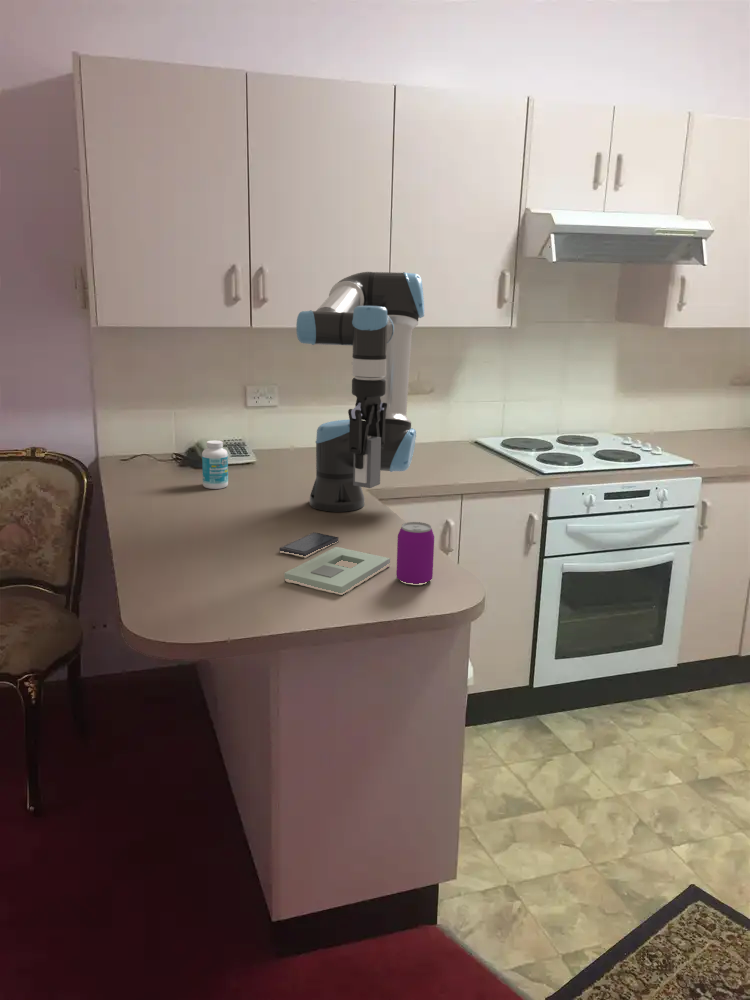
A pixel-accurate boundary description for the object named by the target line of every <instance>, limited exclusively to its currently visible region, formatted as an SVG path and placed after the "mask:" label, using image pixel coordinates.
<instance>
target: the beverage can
mask: <svg viewBox="0 0 750 1000" xmlns="http://www.w3.org/2000/svg"><path fill="white" fill-rule="evenodd" d="M396 546H397V549H396V551H397V552H396V575H395V576H396V579H397V580H398V579H399V580H401V581H403V582H406V583H413V584H419V583H425V582H428V581H430V580H431V579H432V580H433V575H434V553H435V534H434V531H433V528H432V525H430V524H429V523H427V522H421V521H409V522H405V523H403V524H401V527H400V530H399V531H398V534H397V545H396ZM399 580H398V581H399ZM432 580H431V581H432ZM431 581H430V582H431ZM428 583H429V582H428Z"/></svg>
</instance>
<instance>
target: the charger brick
mask: <svg viewBox="0 0 750 1000" xmlns="http://www.w3.org/2000/svg"><path fill="white" fill-rule="evenodd" d="M365 454H367V483H361V482H355V454H354V467H353V485H354V486H360V487H361V488H366V489H373V488H375V487H377V486H379V485H380V484H381V470H380V465H381V437H376V436H368V437H367V444H366V452H365Z"/></svg>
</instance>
